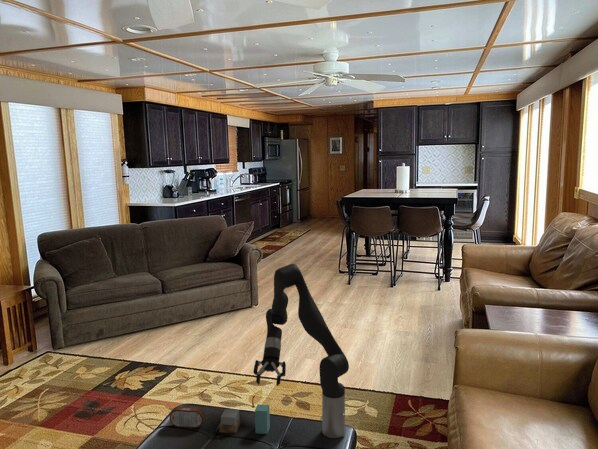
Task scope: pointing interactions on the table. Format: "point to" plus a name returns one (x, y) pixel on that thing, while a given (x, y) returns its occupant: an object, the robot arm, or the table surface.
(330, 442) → the table surface
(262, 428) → the block
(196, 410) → the tin
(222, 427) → the tower base
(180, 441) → the table surface
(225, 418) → the tower top
